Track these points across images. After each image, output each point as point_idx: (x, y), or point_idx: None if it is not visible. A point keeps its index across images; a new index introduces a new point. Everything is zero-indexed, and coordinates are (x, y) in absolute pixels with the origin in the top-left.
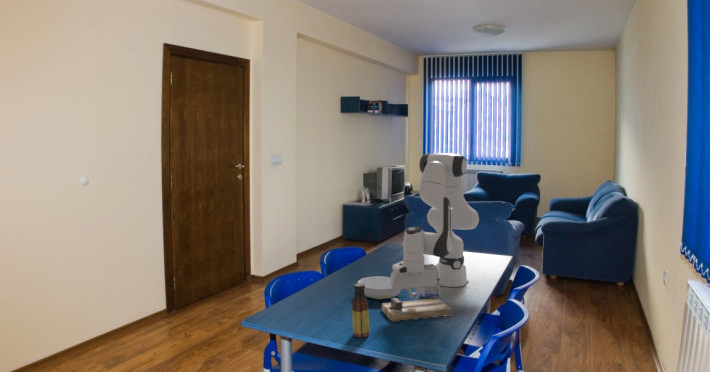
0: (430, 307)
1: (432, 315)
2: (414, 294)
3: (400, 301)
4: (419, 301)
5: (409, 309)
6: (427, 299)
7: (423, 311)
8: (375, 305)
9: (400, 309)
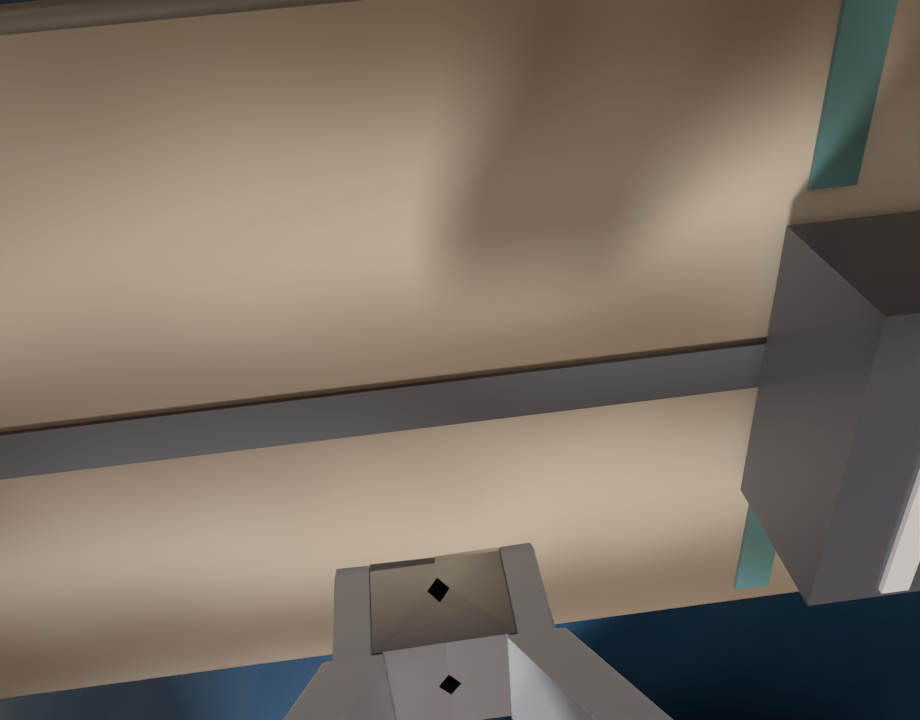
0: (24, 286)
1: (23, 9)
2: (443, 626)
3: (894, 383)
4: (243, 609)
5: (599, 225)
6: (66, 678)
7: (267, 12)
8: (858, 630)
9: None
